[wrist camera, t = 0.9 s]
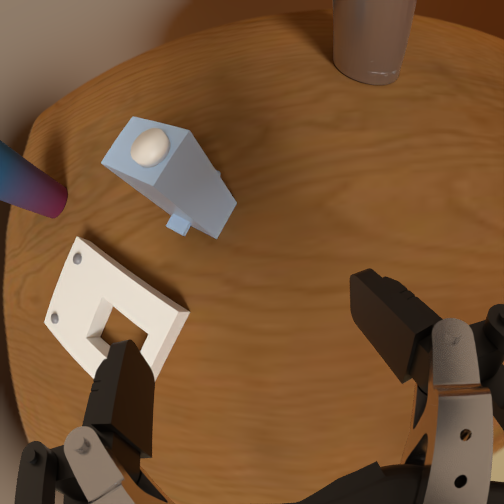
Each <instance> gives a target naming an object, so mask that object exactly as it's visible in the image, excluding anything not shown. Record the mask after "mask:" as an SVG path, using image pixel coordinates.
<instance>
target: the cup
mask: <svg viewBox="0 0 504 504" xmlns="http://www.w3.org/2000/svg"><path fill="white" fill-rule="evenodd" d="M67 196H68V193H67V189H66V188H65V187H64V186H63V185H61V184H60V183H58V182H57V181H55V180H54V179H52V178H51V177H50V176H48V175H47V174H45V173H44V172H43V171H41V170H40V169H38V168H37V167H36V166H34V165H33V164H31V163H30V162H29V161H27V160H26V159H24V158H23V157H22V156H20V155H19V154H18V153H16V152H15V151H14V150H12V149H11V148H10V147H8V146H7V145H6V144H4V143H3V142H2V141H0V200H1V201H4V202H7V203H10V204H12V205H15V206H18V207H21V208H24V209H26V210H29V211H32V212H35V213H38V214H41V215H44V216H47V217H50V218H56V217H57V216H58V215H59V214H60V213H61V212H62V210H63V209H64V207H65V204H66V201H67Z"/></svg>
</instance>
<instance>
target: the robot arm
mask: <svg viewBox="0 0 504 504" xmlns="http://www.w3.org/2000/svg"><path fill="white" fill-rule="evenodd" d="M415 5H416V0H333V61H334V64H335V66H336V67H337V68H338V69H339V70H340V71H341V72H342V73H343V74H345V75H346V76H348V77H350V78H352V79H354V80H357V81H359V82H363V83H367V84H373V85H385V84H389V83H392V82H394V81H395V80H396V79H397V78H398V76H399V73H400V69H401V65H402V62H403V58H404V54H405V50H406V46H407V42H408V38H409V34H410V29H411V25H412V20H413V15H414V10H415ZM350 308H351V314H352V317H353V320H354V322H355V323H356V325H357V326H358V327H359V329H360V330H361V331H362V332H363V334H364V335H365V336H366V337H367V339H368V340H369V341H370V343H371V344H372V345H373V346H374V348H375V349H376V350H377V352H378V353H379V354H380V355H381V357H382V358H383V359H384V361H385V362H386V363H387V364H388V366H389V367H390V368H391V370H392V371H393V372H394V374H395V375H396V376H397V378H398V379H399V380H400V382H401V383H402V384H403V383H404V382H406V381H408V380H410V379H411V378H413V379H414V380H415V382H416V384H415V390H414V400H413V409H412V417H411V424H410V431H409V435H408V439H407V442H406V444H405V447H404V451H403V454H402V458H401V463H400V464H398V465H389V466H383V467H380V466H379V464H378V462H377V461H376V462H374V463H372V464H370V465H368V466H366V467H364V468H362V469H360V470H357V471H355V472H353V473H351V474H348V475H346V476H343V477H341V478H338V479H337V480H335V481H334V482H332V483H331V484H329V485H327V486H326V487H324V488H323V489H321V490H319V491H318V492H316V493H314V494H313V495H311V496H309V497H307V498H306V499H304V500H302V501H300V502H296V503H284V504H504V482H496V481H490V478H491V468H492V454H493V416H494V417H495V419H496V420H497V422H498V423H499V424H500V426H501V427H502V429H503V430H504V365H503V364H502V363H503V361H504V304H497V305H494V306H492V307H491V308H490V309H489V312H488V314H487V317H486V320H484V321H481V322H477V323H474V324H471V325H468V324H466V323H465V322H463V321H461V320H459V319H455V318H447V319H442V318H441V317H439V316H438V315H437V314H436V313H435V312H434V311H433V310H432V309H430V308H429V307H428V306H427V305H426V304H425V303H423V302H422V301H421V300H420V299H419V298H418V297H415V295H414V294H413V293H412V292H411V291H408V290H407V288H406V287H405V286H403V285H402V284H401V283H400V282H399V281H396V280H394V279H391V278H388V277H383V278H382V277H381V276H380V275H378V274H377V273H376V272H375V271H374V270H372V269H370V268H369V269H366V270H363V271H361V272H358V273H355V274H352V275H351V276H350ZM154 389H155V379H154V375H153V372H152V369H151V368H150V366H149V364H148V363H147V362H146V360H145V358H144V357H143V355H142V354H141V352H140V351H139V349H138V348H137V346H136V344H135V343H134V342H133V341H132V340H126V341H121V342H117V343H112V344H111V346H110V349H109V352H108V356H107V359H104V360H103V361H102V363H101V364H100V366H99V367H98V368H97V370H96V373H95V377H94V383H93V384H92V388H91V393H90V396H89V400H88V404H87V408H86V412H85V416H84V421H83V425H82V426H81V427H78V428H76V429H74V430H73V431H71V432H70V433H69V435H68V436H67V438H66V440H65V443H64V445H62V446H59V447H55V448H52V449H49V448H47V447H46V446H45V445H44V444H42V443H41V442H39V441H33V442H31V443H29V444H28V445H27V446H26V447H25V448H24V450H23V452H22V456H21V461H20V466H19V472H18V478H17V486H16V495H15V504H55V490H56V491H58V492H60V493H62V494H64V504H175V503H174V502H173V501H172V500H171V499H170V498H169V497H168V496H167V495H166V494H165V493H164V492H163V491H162V490H161V489H160V488H159V486H158V485H157V484H156V483H155V482H154V481H153V480H152V478H151V477H150V476H149V475H148V474H147V473H146V471H145V470H144V469H143V468H142V467H141V466H140V458H152V426H153V404H154Z"/></svg>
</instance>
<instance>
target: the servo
mask: <svg viewBox="0 0 504 504" xmlns="http://www.w3.org/2000/svg"><path fill="white" fill-rule="evenodd" d="M101 164H103V165H104V166H105V167H107V168H108V169H109V170H111V171H112V172H113V173H115V174H116V175H117V176H119V177H120V178H121V179H123V180H124V181H125V182H127V183H128V184H129V185H131V186H132V187H133V188H135V189H136V190H137V191H139V192H140V193H141V194H143V195H144V196H145V197H147V198H148V199H150V200H151V201H152V202H154V203H155V204H156V205H158V206H159V207H160V208H162V209H163V210H164V211H166V212H167V213H169V214H170V215H171V218H170V219H169V221H168V223H167V225H166V227H168V228H170V229H172V230H174V231H175V232H177V233H179V234H181V235H183V236H185V235H186V233H187V232H188V230H189V228H190V226H192V227H194V228H196V229H198V230H200V231H202V232H204V233H206V234H208V235H210V236H212V237H213V238H215V239H217V238H218V236H219V234H220V233H221V231H222V229H223V227H224V225H225V224H226V222H227V220H228V218H229V216H230V215H231V213H232V211H233V209H234V208H235V206H236V204H237V202H236V201H235V199H234V198H233V196H232V195H231V193H230V191H229V190H228V188H227V187H226V185H225V184H224V182H223V181H222V179H221V177H220V175H221V173H220V171H217V170H215V168H214V167H213V165H212V164H211V162H210V161H209V159H208V157H207V156H206V154H205V153H204V151H203V150H202V148H201V147H200V145H199V144H198V142H197V141H196V139H195V138H194V136H193V135H192V133H191V132H190V130H187V129H183V128H179V127H175V126H171V125H167V124H163V123H159V122H155V121H151V120H146V119H142V118H137V117H132V118H131V119H130V121H129V122H128V123H127V125H126V126H125V128H124V129H123V130H122V132H121V133H120V135H119V136H118V138H117V139H116V140H115V142H114V143H113V145H112V146H111V148H110V149H109V151H108V152H107V154H106V156H105V157H104V159H103V160H102V162H101Z"/></svg>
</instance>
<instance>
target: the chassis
mask: <svg viewBox="0 0 504 504" xmlns="http://www.w3.org/2000/svg"><path fill="white" fill-rule="evenodd" d="M113 306H114V307H115V308H116V309H117V310H119V311H120V312H121V313H122V314H124V315H125V316H126V317H127V318H128V319H130V320H131V321H132V322H134V323H135V324H136V325H137V326H139V327H140V328H141V329H142V330H144V331H145V332H146V333H148V336H147V338H146V341H145V343H144V345H143V347H142V349H141V351H140V352H141V354H142V355H143V357H144V358H145V360H146V362H147V363H148V364H149V366H150V368H151V369H152V372H153V375H154V379H155V381H156V378H157V376H158V374H159V372H160V370H161V368H162V366H163V364H164V362H165V360H166V358H167V356H168V354H169V352H170V350H171V348H172V346H173V344H174V342H175V340H176V338H177V337H178V335H179V333H180V331H181V329H182V327H183V325H184V323H185V321H186V319H187V317H188V315H189V313H190V312H189V311H188V310H186V309H185V308H183V307H182V306H180V305H178V304H177V303H175V302H174V301H172V300H171V299H169V298H168V297H166V296H165V295H163V294H162V293H160V292H159V291H157V290H156V289H155V288H153V287H152V286H150V285H149V284H147V283H146V282H144V281H143V280H142V279H140V278H139V277H137V276H136V275H135V274H133V273H132V272H130V271H129V270H128V269H126V268H125V267H124V266H122V265H121V264H119V263H118V262H117V261H115V260H114V259H113V258H111V257H110V256H109V255H107V254H106V253H105V252H104V251H102V250H101V249H100V248H98V247H97V246H96V245H95V244H93V243H92V242H91V241H88V240H86V239H83V238H80V237H78V236H77V237H76V239H75V242H74V244H73V246H72V248H71V251H70V253H69V255H68V258H67V260H66V262H65V265H64V267H63V270H62V272H61V275H60V277H59V280H58V283H57V285H56V288H55V291H54V294H53V296H52V299H51V302H50V305H49V308H48V312H47V315H46V318H45V321H44V323H45V324H46V326H47V327H48V328H49V329H50V331H51V332H52V333H53V334H54V336H55V337H56V338H57V339H58V340H59V342H60V343H61V344H62V345H63V346H64V348H65V349H66V350H67V351H68V352H69V353H70V354H71V355H72V357H73V358H74V359H75V360H76V361H77V362H78V363H79V364H80V365H81V366H82V367H83V368H84V369H85V370H86V372H87V373H88V374H89V375H90V376H91V377H92V378H93V379H94V377H95V373H96V370H97V368H98V367H99V366H100V364H101V363H102V361H103V360H104V359H107V356H108V352H109V349H110V345H108V344H107V343H106V342H105V341H104V340H103V339H102V338H101V334H102V332H103V329H104V327H105V324H106V322H107V320H108V317H109V315H110V313H111V310H112V308H113Z"/></svg>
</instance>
